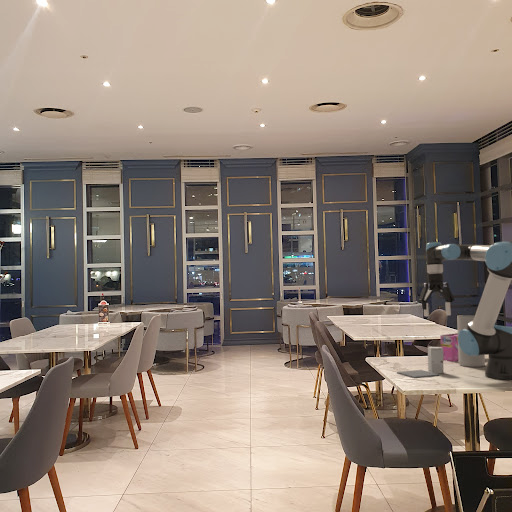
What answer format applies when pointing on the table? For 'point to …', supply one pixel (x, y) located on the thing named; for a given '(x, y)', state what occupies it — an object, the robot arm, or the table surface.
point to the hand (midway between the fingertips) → (437, 315)
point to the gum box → (450, 347)
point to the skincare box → (435, 360)
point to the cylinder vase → (463, 358)
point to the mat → (417, 373)
